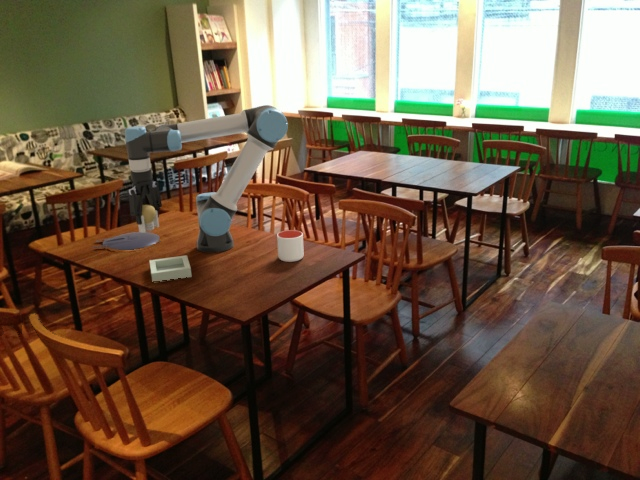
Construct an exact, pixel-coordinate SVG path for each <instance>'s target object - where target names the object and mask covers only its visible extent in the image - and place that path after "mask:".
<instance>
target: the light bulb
mask: <svg viewBox="0 0 640 480" xmlns="http://www.w3.org/2000/svg"><path fill="white" fill-rule="evenodd" d="M142 215H143V216H144V223H145V230H146V232H153V230H154V229H155V227H154V223H153V219H154V218H155V215H156V211H155V208H154V207H153V206H151V205H150V204H143V205H142Z"/></svg>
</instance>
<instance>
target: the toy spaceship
mask: <svg viewBox="0 0 640 480" xmlns="http://www.w3.org/2000/svg"><path fill="white" fill-rule="evenodd" d="M160 237H161V236H159V234H156V233H153V232H150V231H146V232H145V233H143V232H139V231H136V232H135V231H133V232H127V233H123V234H119V235H117V236H111V237H108V238H104V239H97V240H96V242H102V245H96V246H92V247H91V249H92V248H97V247H109V248H111V249H118V250H134V249H140V248H144V247H148V246H151V245H153V244H156V243H157V242H158V241H160V240H159V239H160ZM101 240H104V241H101ZM160 242H161V241H160Z"/></svg>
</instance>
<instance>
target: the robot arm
mask: <svg viewBox="0 0 640 480" xmlns="http://www.w3.org/2000/svg"><path fill="white" fill-rule="evenodd" d="M288 127H289V123H288V120H287V117H286V116H285V114H284V113H283V112H282V111H281V110H280V109H278V108H276V107H274V106H272V105H268V104H267V105H260V106H255V107H252V108H248V109H242V111H241V112H239V113H234V114H227V115H222V116H216V117H209V118H204V119H203V118H202V119H196V120H192V121H191V120H190V121H187V122H180V123H179V122H178V123H172V124H165V123H163V124H161V125H159V126H158V127H157V128H156V130H154V131H147V129H146V127H145V126H137V125H136V126H129V127H127V128H125V130H124V137H125V147H126V152H127V158H128V165H129V170H130V179H131V180H130V181H131V182H132V183H133V185H132V188H129V189H127V190H126V191H127V195H128V200H129V211H130V212H129V213H130V216H133V217H135V220H136V221H135V222H136V224H137V226H138V232H143V233H145V232H147V231H146V230H145V223H144V216H143V215H142V206H143V205H144V204H143V203H144V198H145V196H146V197H147V201H148V203H149V205H151V206H153V207H154V208H155V211H156V215H155V218H154V219H153V223H154V228H159V227H160V222H159V218H160V214H159V211H161V208H162V207H163V205H162V199H161V193H160V189H159V187H160V186H159V185H160V183H159V181H153V170H152V169H151V168H152V163H151V158H150V157H151V156H150V153H153V154H154V153H164V152H165V153H166V152H175V151H177V152H178V151H181V150H182V148H183V144H182V143H189V142H194V141H200V140H201V141H202V140H206V139H213V138H219V137H224V136H231V135H232V136H233V135H237V134H243V133H244V134H246V135H247V140H246V142H245V143H244V145H243V147H242V149H241V150H240V152H239V154H238V156H237V157H236V159H235V160H234V162H233V164H232V166H231V168H230V169H229V171H228V173H227V175H226V176H225V178H224V179H223V181H222V183H221V184H220V187H219V188H218V190H217V191H216V192H215V191H213V192H212V191H211V192H204V193H199V194H197V195H196V197H195V200H196V201H195V203H196V210H197V211H196V212H197V218H198V227H199V228H198V234H197V235H198V237H197V241H196V249H197V250H198V251H200V252H202V253H207V254H208V253H209V254H211V253H212V254H213V253H221V252H226V251H228V250H230V249H231V248H233V247H234V238H233V237H232V234H231V232H230V229H231V226H232V220H233V217H234V216H235V214H236V212H237V211H238V207H237V204H238V201H239V200H240V198H241V197H242V195H243V193H244V192H245V189H246V188H247V186H248V184H249V183H250V182H251V180H252V179H253V176H254V175H255V172H257V170H258V168H259V166H260V164H261V163H262V161H263V159H264V158H265V156H266V154H267V153H268V152H269V151H272V150H274V149H275V147H276V146H277V144H278V142H279V141H281V140H282V139H284V137H285V136H286V134H287V133H288V129H289V128H288Z"/></svg>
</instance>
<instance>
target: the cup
mask: <svg viewBox="0 0 640 480" xmlns="http://www.w3.org/2000/svg"><path fill="white" fill-rule="evenodd" d="M303 236H304V233H303V232H302V231H300V230H297V229H296V230H295V229H290V230H288V229H287V230H282V231H280V232H278V233H277V234H276V240H277V241H276V242H277V256H278V259H279V260H281V261H283V262H285V263H287V262H288V263H292V262H298V261H300V260H302V259H303V257H304V255H305V254H304V252H305V251H304V249H305V248H304V237H303Z"/></svg>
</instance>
